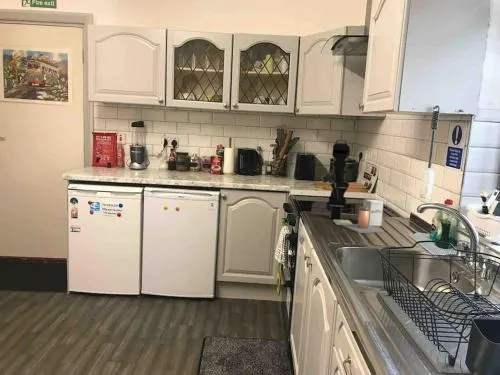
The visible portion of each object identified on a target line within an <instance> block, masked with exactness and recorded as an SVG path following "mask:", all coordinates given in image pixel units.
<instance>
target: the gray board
mask: <svg viewBox="0 0 500 375" xmlns="http://www.w3.org/2000/svg"><path fill="white" fill-rule="evenodd" d="M342 227H343V228H345V229H348V230H350V231H352V232H355V233H357V234H367V233H368V234H369V233H370V234H371V233H384V232H385V230H384V229H381V228H379V227H377V226H371V225H368V228H367V229H362V228H358V223H356V224H354V223H353V224H352V225H342Z"/></svg>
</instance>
